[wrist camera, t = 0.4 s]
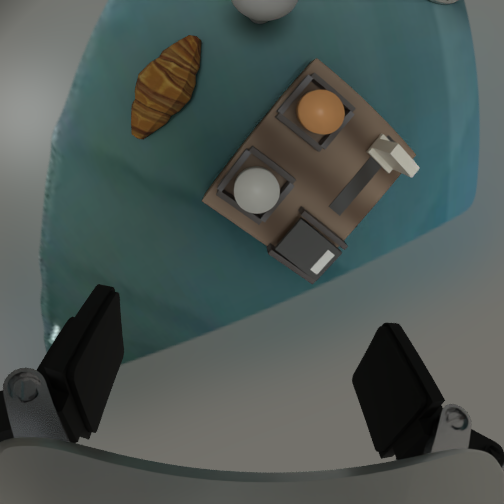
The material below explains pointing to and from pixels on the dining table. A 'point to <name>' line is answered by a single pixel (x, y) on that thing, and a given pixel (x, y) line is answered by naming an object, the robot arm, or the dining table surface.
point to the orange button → (320, 112)
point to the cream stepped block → (392, 156)
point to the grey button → (256, 190)
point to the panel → (310, 167)
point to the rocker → (308, 249)
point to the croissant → (165, 86)
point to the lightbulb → (264, 9)
